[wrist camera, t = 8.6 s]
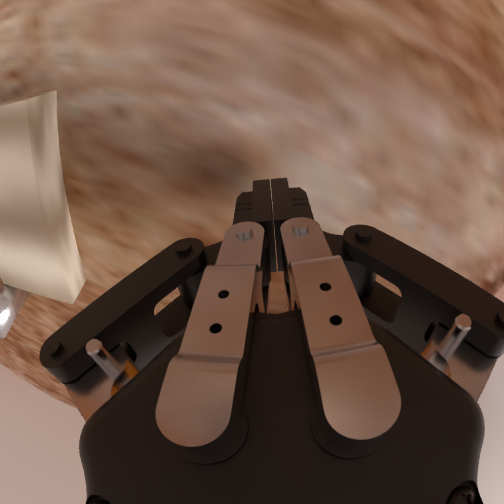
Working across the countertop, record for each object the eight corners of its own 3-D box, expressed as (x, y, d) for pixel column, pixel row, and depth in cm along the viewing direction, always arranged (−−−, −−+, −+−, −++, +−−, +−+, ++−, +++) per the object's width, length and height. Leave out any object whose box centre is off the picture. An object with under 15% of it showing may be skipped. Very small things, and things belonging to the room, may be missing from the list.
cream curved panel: (-16, 105, 10) (-45, 119, 8) (61, 88, 11) (26, 100, 8) (20, 260, 19) (3, 283, 16) (88, 276, 19) (72, 304, 17)
